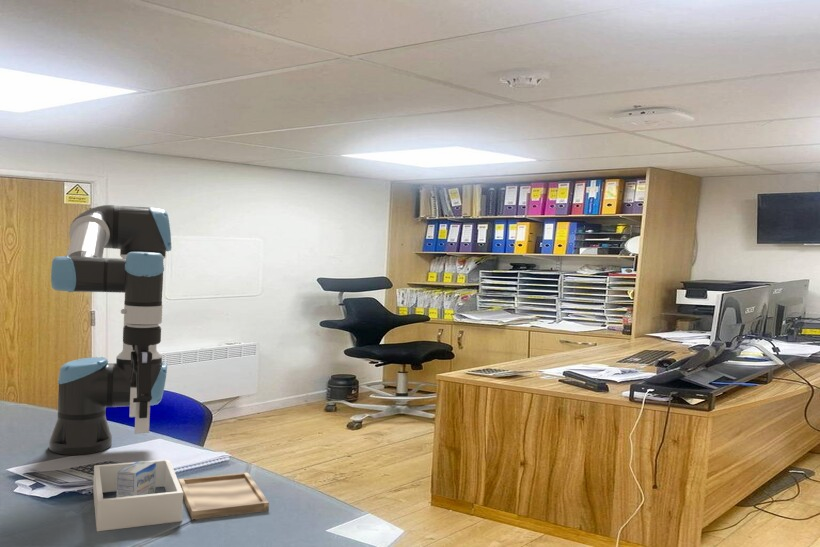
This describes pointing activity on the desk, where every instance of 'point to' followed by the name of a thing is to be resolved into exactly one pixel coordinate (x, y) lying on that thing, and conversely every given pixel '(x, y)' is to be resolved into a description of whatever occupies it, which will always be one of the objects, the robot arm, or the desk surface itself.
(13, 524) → the desk surface
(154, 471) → the medicine box
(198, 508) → the oak tray
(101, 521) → the deep bin
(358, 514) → the desk surface
